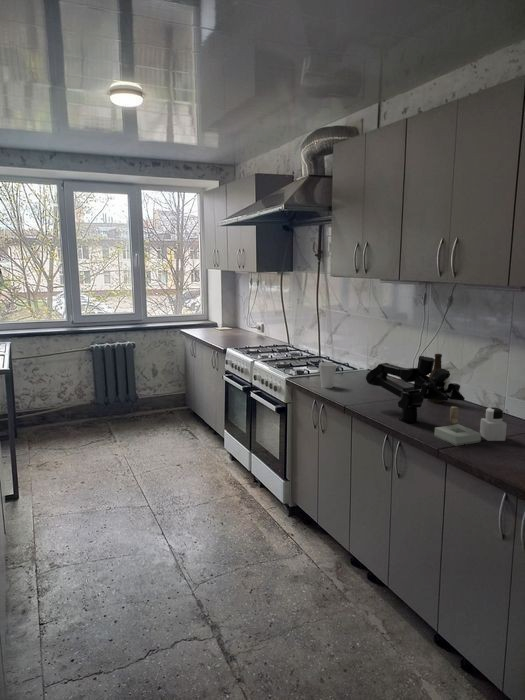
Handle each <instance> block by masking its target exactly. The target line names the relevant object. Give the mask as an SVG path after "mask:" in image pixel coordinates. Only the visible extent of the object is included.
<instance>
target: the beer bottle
mask: <svg viewBox="0 0 525 700" xmlns="http://www.w3.org/2000/svg"><path fill="white" fill-rule="evenodd" d="M442 357H443V354H441V353H435V354H434V359H435V361H434V366H433V370H432V373H430V374H429V375H428V376H429V377H430V378H432V375H433V374H434V372H435V371H436V370H437V369H439V368H440V369H443V368H442ZM429 401H430V402H429ZM427 402H429V403H432V402H433V403H432V404H442V403H443V402H444V400H432V399H427ZM441 402H442V403H441Z"/></svg>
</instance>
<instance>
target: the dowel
mask: <svg viewBox="0 0 525 700" xmlns="http://www.w3.org/2000/svg"><path fill="white" fill-rule="evenodd" d="M459 409H460V407H458V406H450V411H449V422H448V423H449V424H448V426H450V425H457V424H459V412H460V410H459Z"/></svg>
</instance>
